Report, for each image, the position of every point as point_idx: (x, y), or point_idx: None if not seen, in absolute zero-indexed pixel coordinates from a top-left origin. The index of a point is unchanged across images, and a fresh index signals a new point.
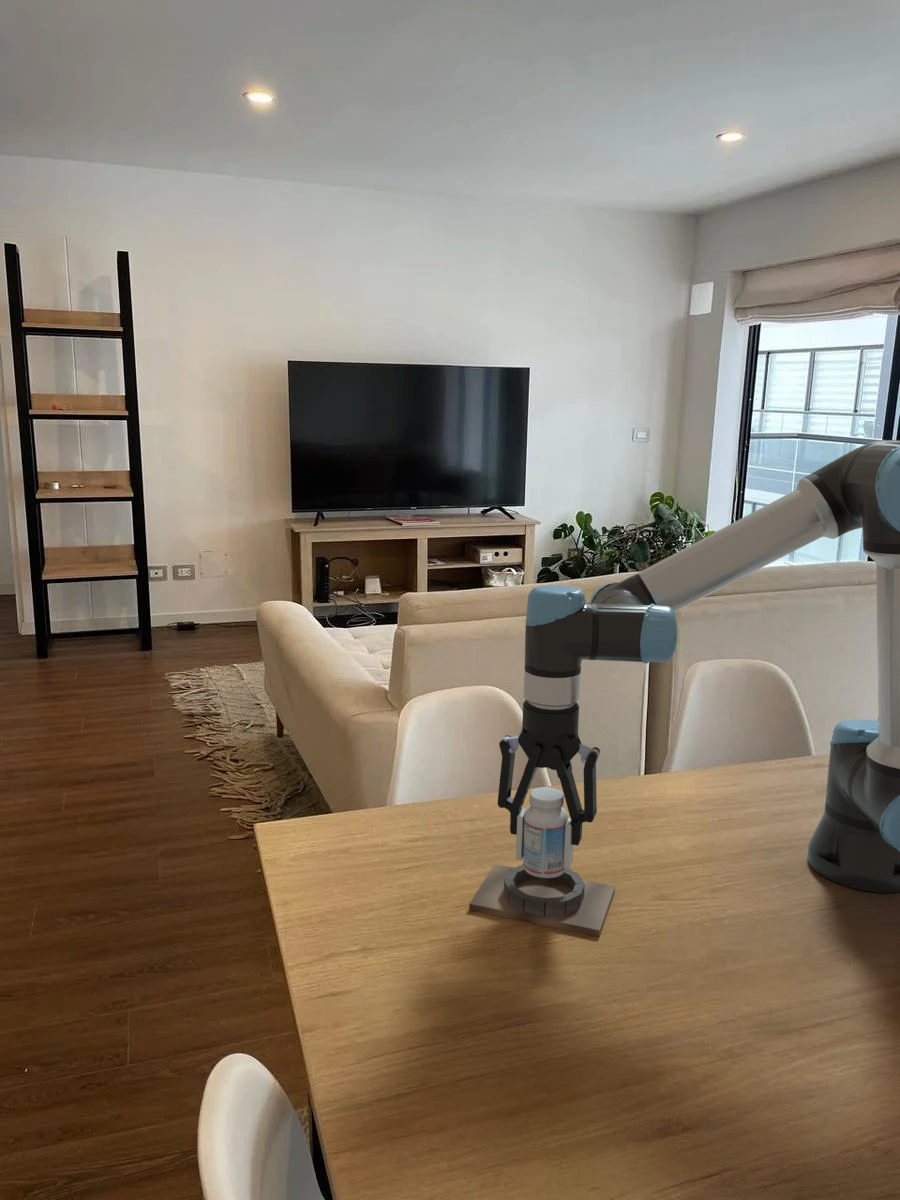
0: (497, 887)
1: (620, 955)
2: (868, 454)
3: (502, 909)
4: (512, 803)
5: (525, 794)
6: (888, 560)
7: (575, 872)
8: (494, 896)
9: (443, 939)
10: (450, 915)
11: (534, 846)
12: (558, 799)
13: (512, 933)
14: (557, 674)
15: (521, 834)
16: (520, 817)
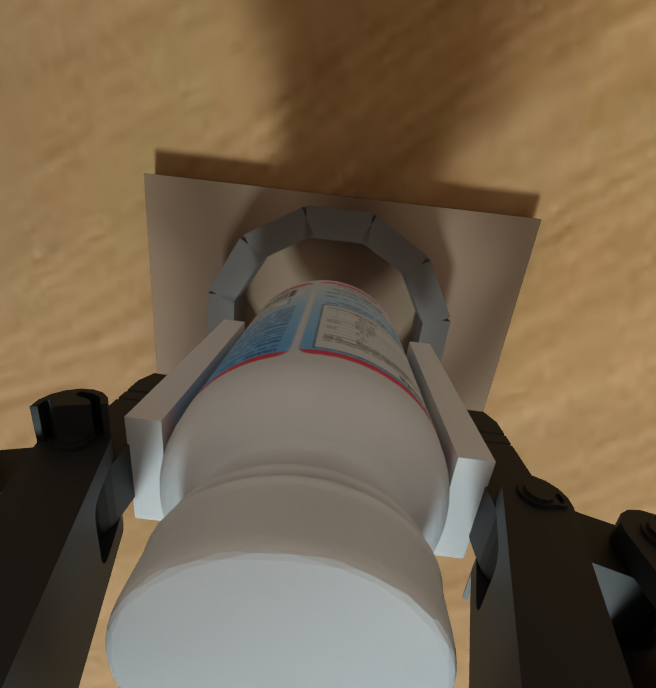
0: (459, 328)
1: (79, 92)
2: None
3: (436, 213)
4: (581, 543)
5: (496, 651)
6: None
7: None
8: (465, 279)
9: (613, 15)
10: (588, 175)
11: (356, 319)
12: (127, 597)
13: (393, 123)
14: None
15: (434, 393)
16: (471, 454)
